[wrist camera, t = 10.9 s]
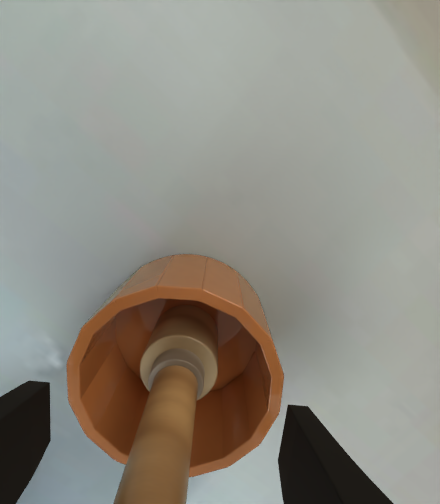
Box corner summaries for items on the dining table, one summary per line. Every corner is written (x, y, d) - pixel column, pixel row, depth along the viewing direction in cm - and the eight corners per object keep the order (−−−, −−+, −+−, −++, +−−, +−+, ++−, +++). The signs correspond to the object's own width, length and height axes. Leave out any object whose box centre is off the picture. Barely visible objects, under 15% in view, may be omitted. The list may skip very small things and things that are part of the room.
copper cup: (144, 412, 17) (117, 498, 12) (85, 282, 15) (29, 326, 11) (283, 371, 16) (307, 445, 12) (237, 232, 15) (245, 256, 10)
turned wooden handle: (158, 364, 16) (55, 677, 6) (151, 306, 15) (21, 551, 5) (220, 360, 16) (221, 669, 6) (215, 302, 15) (209, 541, 5)
